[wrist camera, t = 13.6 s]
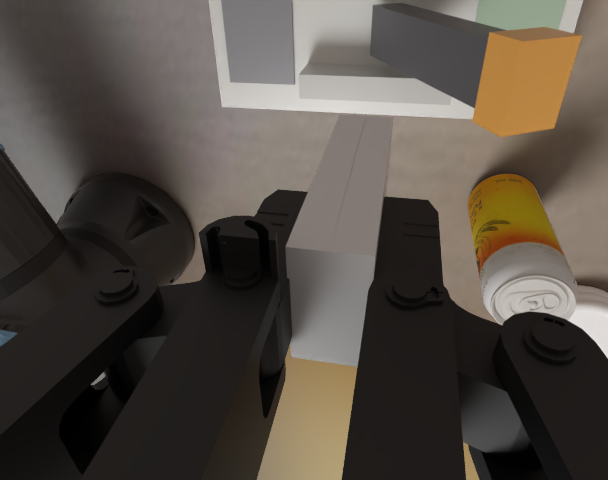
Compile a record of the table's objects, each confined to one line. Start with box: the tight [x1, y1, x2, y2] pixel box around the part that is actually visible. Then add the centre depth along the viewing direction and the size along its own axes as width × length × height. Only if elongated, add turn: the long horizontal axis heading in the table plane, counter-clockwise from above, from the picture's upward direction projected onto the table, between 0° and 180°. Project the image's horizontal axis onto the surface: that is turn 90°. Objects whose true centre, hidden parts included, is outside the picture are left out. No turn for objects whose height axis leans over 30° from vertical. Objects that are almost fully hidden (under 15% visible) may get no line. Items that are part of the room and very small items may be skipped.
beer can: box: [468, 174, 578, 325], centre depth 37 cm, size 6×6×15 cm
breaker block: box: [209, 0, 583, 119], centre depth 32 cm, size 24×12×10 cm, turn 91°
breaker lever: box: [370, 3, 582, 137], centre depth 24 cm, size 3×4×14 cm
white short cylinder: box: [568, 285, 608, 358], centre depth 48 cm, size 10×10×4 cm
